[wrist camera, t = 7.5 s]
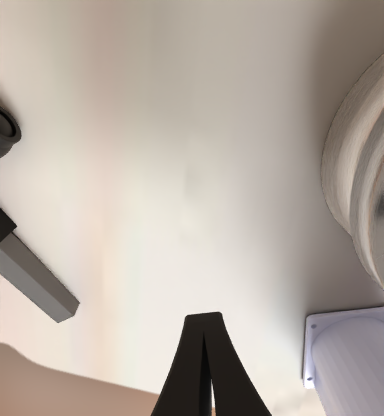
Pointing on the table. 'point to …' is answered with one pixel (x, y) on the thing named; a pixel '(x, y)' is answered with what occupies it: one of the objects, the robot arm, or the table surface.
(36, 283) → the gun
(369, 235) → the cooker lid
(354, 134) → the cooker pot
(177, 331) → the table surface
